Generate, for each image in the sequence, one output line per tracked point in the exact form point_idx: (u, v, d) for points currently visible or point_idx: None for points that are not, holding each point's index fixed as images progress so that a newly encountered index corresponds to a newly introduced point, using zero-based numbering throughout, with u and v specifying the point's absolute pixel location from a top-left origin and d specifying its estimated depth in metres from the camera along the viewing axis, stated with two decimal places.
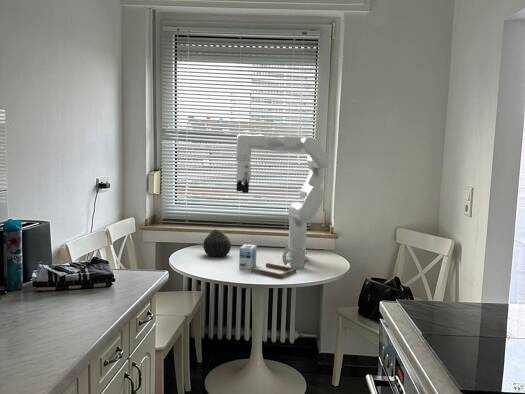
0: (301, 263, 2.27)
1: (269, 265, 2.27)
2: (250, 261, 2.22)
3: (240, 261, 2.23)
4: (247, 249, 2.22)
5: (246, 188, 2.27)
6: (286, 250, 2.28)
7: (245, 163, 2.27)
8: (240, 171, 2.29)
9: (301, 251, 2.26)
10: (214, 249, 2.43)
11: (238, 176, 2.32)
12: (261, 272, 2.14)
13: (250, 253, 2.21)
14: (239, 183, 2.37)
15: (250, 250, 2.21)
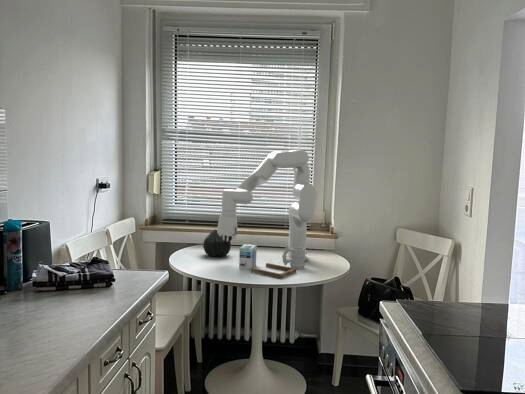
0: (301, 263, 2.27)
1: (269, 265, 2.27)
2: (250, 261, 2.22)
3: (240, 261, 2.23)
4: (247, 249, 2.22)
5: None
6: (286, 250, 2.28)
7: None
8: None
9: (301, 251, 2.26)
10: (214, 249, 2.43)
11: None
12: (261, 272, 2.14)
13: (250, 253, 2.21)
14: None
15: (250, 250, 2.21)
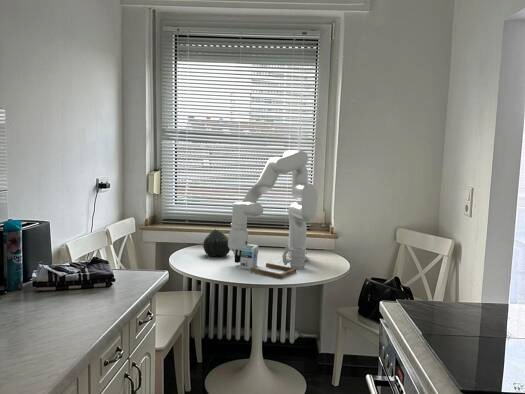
0: (301, 263, 2.27)
1: (269, 265, 2.27)
2: (251, 261, 2.21)
3: (241, 260, 2.22)
4: (249, 249, 2.21)
5: None
6: (286, 250, 2.28)
7: None
8: None
9: (301, 251, 2.26)
10: (214, 249, 2.43)
11: None
12: (261, 272, 2.14)
13: (252, 253, 2.21)
14: None
15: (252, 250, 2.21)
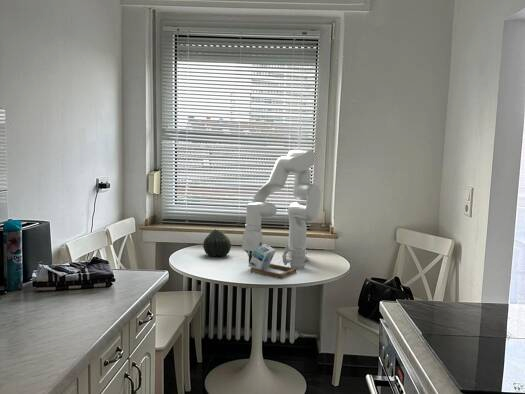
0: (301, 263, 2.27)
1: (269, 265, 2.27)
2: (260, 264, 2.16)
3: (252, 260, 2.18)
4: (262, 252, 2.16)
5: None
6: (286, 250, 2.28)
7: None
8: None
9: (301, 251, 2.26)
10: (214, 249, 2.43)
11: None
12: (261, 272, 2.14)
13: (263, 257, 2.15)
14: None
15: (264, 254, 2.15)
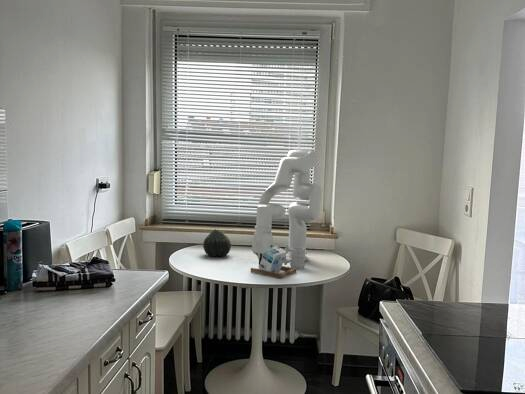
0: (301, 263, 2.27)
1: None
2: (270, 266, 2.13)
3: (261, 262, 2.15)
4: (271, 254, 2.12)
5: None
6: (286, 250, 2.28)
7: None
8: None
9: (301, 251, 2.26)
10: (214, 249, 2.43)
11: None
12: (261, 272, 2.14)
13: (272, 259, 2.12)
14: None
15: (273, 256, 2.11)
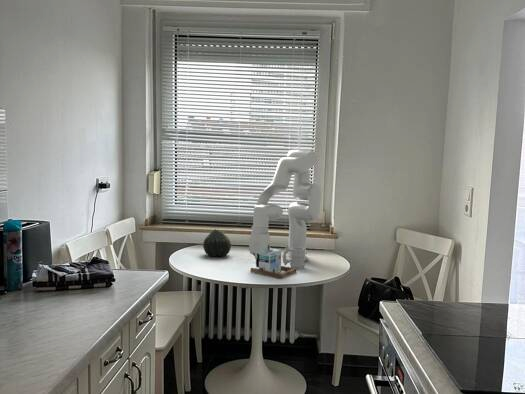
0: (301, 263, 2.27)
1: None
2: (268, 266, 2.13)
3: (259, 265, 2.16)
4: (266, 253, 2.14)
5: None
6: (286, 250, 2.28)
7: None
8: None
9: (301, 251, 2.26)
10: (214, 249, 2.43)
11: None
12: (261, 272, 2.14)
13: (268, 257, 2.13)
14: None
15: (268, 254, 2.13)
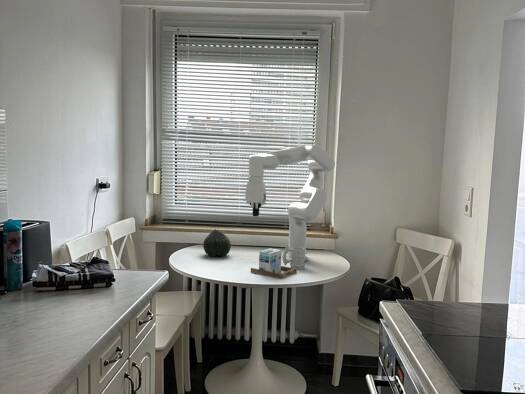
0: (301, 263, 2.27)
1: None
2: (268, 266, 2.13)
3: (259, 265, 2.16)
4: (266, 253, 2.14)
5: None
6: (286, 250, 2.28)
7: None
8: None
9: (301, 251, 2.26)
10: (214, 249, 2.43)
11: None
12: (261, 272, 2.14)
13: (268, 258, 2.13)
14: None
15: (269, 255, 2.13)
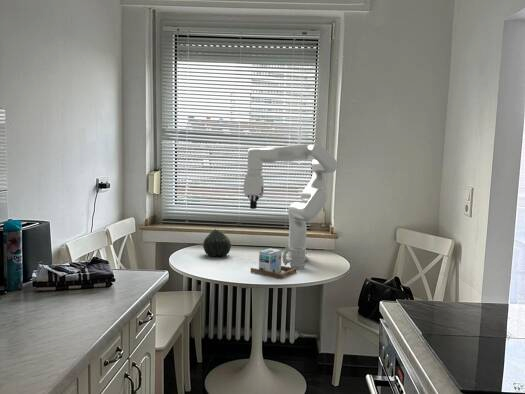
0: (301, 263, 2.27)
1: None
2: (268, 266, 2.13)
3: (259, 265, 2.16)
4: (266, 253, 2.14)
5: None
6: (286, 250, 2.28)
7: None
8: None
9: (301, 251, 2.26)
10: (214, 249, 2.43)
11: None
12: (261, 272, 2.14)
13: (268, 258, 2.13)
14: None
15: (269, 255, 2.13)
